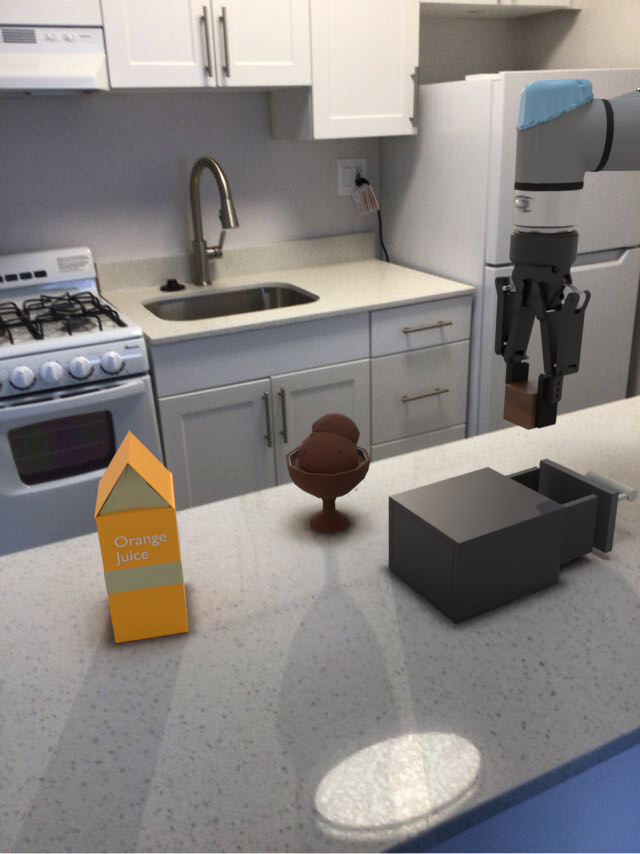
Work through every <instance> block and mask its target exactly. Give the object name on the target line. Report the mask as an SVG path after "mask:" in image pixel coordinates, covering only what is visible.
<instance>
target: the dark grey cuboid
mask: <svg viewBox="0 0 640 854" xmlns="http://www.w3.org/2000/svg"><path fill="white" fill-rule="evenodd" d="M564 517H565V506H563V505H561V504H559V503H557V502H555V501H553V500H551V499H549V498H547V497H545V496H543V495H541V494H539V493H538V492H536V491H534V490H532V489H530V488H528V487H526V486H524V485H522V484H520V483H518V482H516V481H514V480H512V479H511V478H509V477H507V476H506V475H505V474H503V473H501V472H499V471H497V470H496V469H493V468H491V467H490V466H486V467H482V468H479V469H476V470H473V471H470V472H466V473H463V474H458V475H456V476H455V475H454V476H452V477H449V478H445V479H442V480H438V481H435V482H432V483H428V484H425V485H421V486H418V487H414V488H411V489H407V490H404V491H401V492H398V493H395V494H391V495H388V569H389V571H391V572H392V573H393V574H395V575H396V576H397V577H398V578H399V579H401V580H402V581H403V582H404V583H405V584H407V585H408V586H409V587H411V588H412V589H413V590H415V592H417V593H418V594H419V595H420V596H421V597H423V598H424V599H425V600H426V601H428V602H429V603H430V604H431V605H432V606H434V607H435V608H436V609H437V610H439V612H441V614H442V613H443V614H444V615H445V616H446V617H447V618H448V619H450V620H451V621H452V622H453V623H455V624H459V623H461V622H464V621H466V620H468V619H470V618H473V617H476V616H478V615H481V614H483V613H486V612H488V611H490V610H493V609H494V610H495V609H496V608H499V607H501V606H503V605H506V604H508V603H511V602H514V601H516V600H519V599H521V598H523V597H526V596H528V595H530V594H533V593H536V592H538V591H540V590H543V589H545V588H548V587H551V586H553V585H555V584H558V583H559V579H560V571H561V570H560V568H561V564H560V559H561V549H562V538H563V527H564Z"/></svg>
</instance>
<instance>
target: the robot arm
mask: <svg viewBox="0 0 640 854" xmlns="http://www.w3.org/2000/svg"><path fill="white" fill-rule="evenodd" d="M593 87H594V86H593V82H592V81H591V80H589V79H587V78H557V79H542V80H535V81H531V82H529V83H527V84H525V86H524V87H523V89H522V90H521V94H520V98H519V100H520V101H519V106H518V113H517V114H518V116H517V122H516V126H515V131H516V144H515V166H514V168H515V169H514V182H513V183H514V184H513V198H512V210H511V211H512V212H511V224H512V225H513V226H515V227H516V228H515V229H513V230H512V231H511V232H510V238H509V254H508V257H509V261H510V262H511V263H512V264H514V266H513V269H512V271H511V274H508V275H499V276H496V277H495V278H494V287H495V291H496V313H495V331H494V332H495V333H494V334H495V335H494V354H495V355H496V356H501V357H502V358H503V361H504V363H505V378H504V383H505V384H504V385H506V384H511V383H516V382H520V381H525V380H529V374H530V362H527V360H530V356H528V355H527V351H528V348H529V343H530V339H531V335H532V332H533V328H534V323H535V320H537V321H539V329H540V330H539V331H540V341H541V353H542V364H543V372H542V373H539V375H538V378H537V380H538V389H537V403H536V415H535V427H536V428H535V429H544V428H547V427H552V426H554V425H555V426H556V424H557V419H556V414H557V415H558V408H557V403H558V404H559V403H560V402H561V400H562V395H563V386H564V377H566V376H570V375H574V374H577V373H579V371H580V363H581V353H582V346H583V345H582V342H583V336H584V335H583V334H584V333H583V332H584V325H585V316H586V310H587V308H588V305H589V302H590V301H591V297H592V293H591V292H590V291H589V290H588V289H585V290H580V289H579V288H578V287H577V286H575V285H574V284H573V277H572V273H571V269H572V267H573V264H574V263H576V261H577V259H578V258H577V257H578V247H579V236H580V233H579V232H578V230H576V229H575V227H578V226H580V224H581V217H582V203H583V191H584V190H583V189H584V186H585V182H584V181H585V175H586V173H587V172H589V173H599V172H640V87H639V88H637V89H635V90H631V91H628V92H625V93H622V94H619V95H617V96H614V97H611V98H608V99H606V98H597V97H594V93H593ZM505 343H506V344H505ZM522 361H523V362H522Z"/></svg>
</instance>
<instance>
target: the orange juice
mask: <svg viewBox="0 0 640 854" xmlns="http://www.w3.org/2000/svg"><path fill="white" fill-rule="evenodd" d="M177 516H178V515H177V506H176V498H175V488H174V476H173V473H172V471H171V472H170V471H169V470H168V468H167V467H166V466H164V465H163V463H162V462H161V461H160V460H159V459H158V458H157V457H156V456H155V455H154V454H153V453H152V451H150V450H149V449H148V448H147V447H146V446H145V445H144V444H143V443H142V442H141V441H140V440H139V439H138V437H136V435H134V434H133V433H132V432H131V429H129V430H128V432H127V433H126V435H125V436H124V438H123V440H122V442H121V444H120V445H119V447H118V448H117V450H116V452H115V454H114V456H113V457H112V459H111V461H110V463H109V465H108V466H107V468H106V470H105V472H104V473H103V475H102V476H101V478H100V480H99V482H98V488H97V494H96V503H95V509H94V518H93V519H94V520H95V523H96V530H97V538H98V542H99V548H100V554H101V562H102V567H103V568H102V569H103V575H104V576H103V577H104V582H105V588H106V594H107V598H108V605H109V611H110V618H111V623H112V630H113V636H114V643H115V644H120V643H125V642H132V641H138V640H144V639H151V638H157V637H163V636H164V637H165V636H169V635H176V634H182V633H183V634H184V633H189V632H190V630H189V620H188V619H189V618H188V609H187V608H188V607H187V597H186V596H187V595H186V586H185V577H184V570H183V568H184V567H183V561H182V553H181V552H182V550H181V538H180V532H179V521H178V518H179V517H177Z"/></svg>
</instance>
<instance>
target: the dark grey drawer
mask: <svg viewBox="0 0 640 854" xmlns="http://www.w3.org/2000/svg"><path fill="white" fill-rule="evenodd" d="M538 466H539V467H538ZM538 466H532V467H529V468H526V469H523V470H519V471H516V472H512V473H509V474H506V475H505V476H507V477H509V478H511V479H512V480H514V481H516V482H518V483H520V484H522V485H524V486H526V487H528V488H530V489H532V490H534V491H536V492H538V493H539V494H541V495H543V496H545V497H547V498H549V499H551V500H553V501H555V502H557V503H559V504H561V505H563V506H565V517H564V527H563V538H562V549H561V559H560V565H563V564H565V563H567V562H570V561H572V560H575V559H579V558H581V557H583V556H586V555H588V554H591V553H594V552H593V551H594V549H596V550H598V551H600V552H601V553H603V554H608V553H610V552H613V548H614V547H613V546H614V538H615V530H616V523H617V522H616V521H617V513H618V512H617V511H618V504H619V503H620V502H622V501H625V500H626V501H627V502H635V501H636V499H637V498H638V495H639V491H638V490H637V489H636V488H633V487H632V486H629V485H627V484H624V483H622V482H620V481H618V480H615V479H613V478H611V477H609V476H606V475H604V474H603V473H600V472H598V471H596V470H593V469H589V470H588V471H586V472H585V475H584V474H582V473H579V472H578V471H575V470H572V469H570V468H568V467H566V466H564V465H562V464H560V463H557V462H556V461H553V460H551V459H549V458H543V459H540V460H539V465H538Z"/></svg>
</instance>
